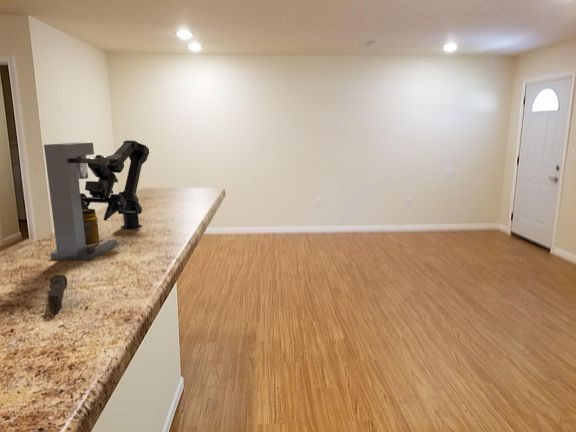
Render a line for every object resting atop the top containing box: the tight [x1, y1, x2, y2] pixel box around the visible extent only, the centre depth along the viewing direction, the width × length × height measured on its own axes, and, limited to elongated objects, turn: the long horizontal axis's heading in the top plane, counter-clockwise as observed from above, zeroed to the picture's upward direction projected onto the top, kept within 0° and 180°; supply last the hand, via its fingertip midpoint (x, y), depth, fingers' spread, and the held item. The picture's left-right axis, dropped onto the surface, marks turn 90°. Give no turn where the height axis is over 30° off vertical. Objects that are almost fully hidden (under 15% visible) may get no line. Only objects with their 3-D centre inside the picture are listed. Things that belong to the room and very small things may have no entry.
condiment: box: [82, 208, 105, 246], centre depth 143 cm, size 7×8×12 cm
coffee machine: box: [43, 142, 118, 261], centre depth 138 cm, size 20×22×38 cm
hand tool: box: [48, 274, 68, 315], centre depth 103 cm, size 19×4×5 cm, turn 24°
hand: (92, 219), depth 146 cm, fingers open, 9 cm apart
